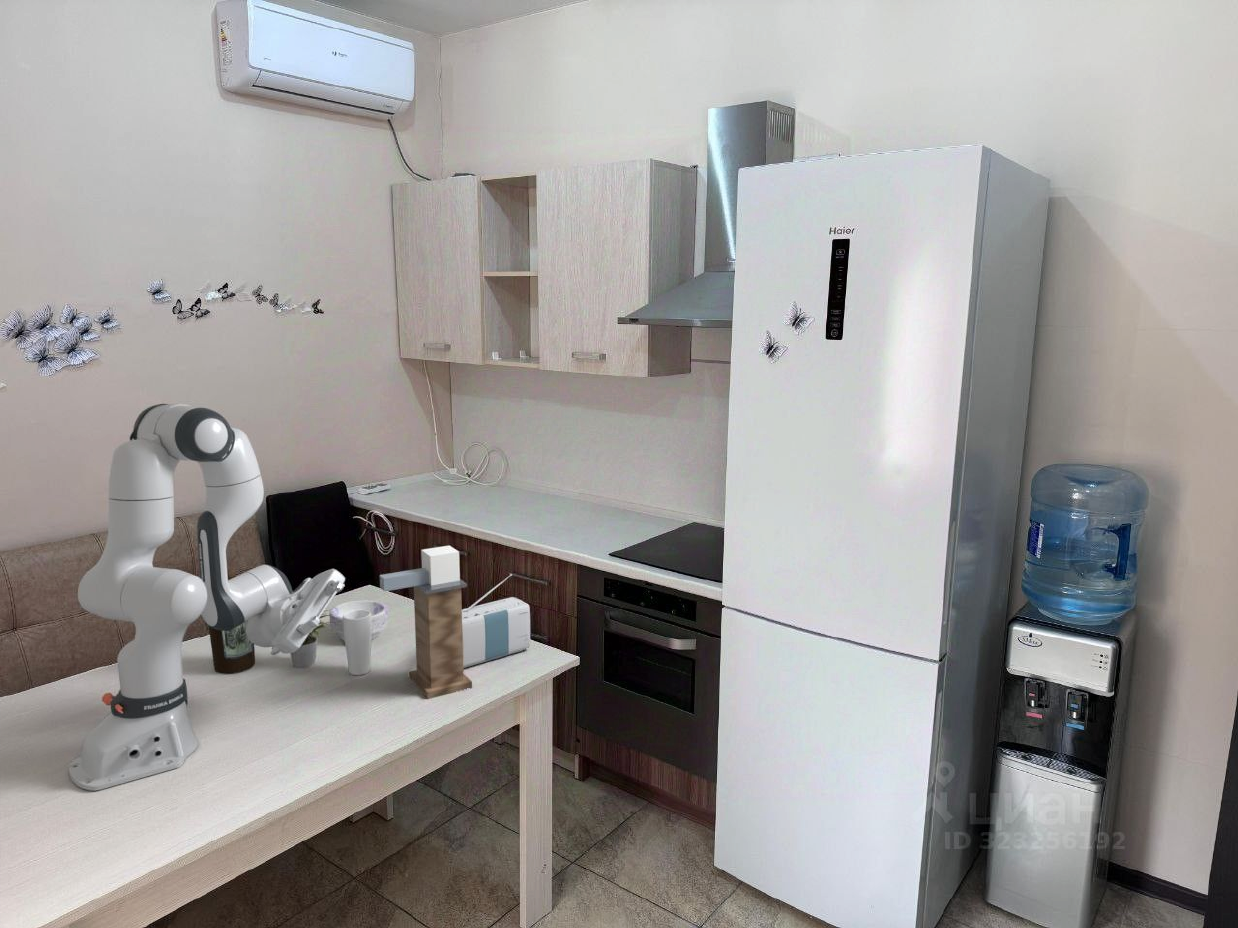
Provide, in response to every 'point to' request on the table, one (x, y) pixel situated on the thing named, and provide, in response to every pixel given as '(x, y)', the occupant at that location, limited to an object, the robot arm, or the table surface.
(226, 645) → the olive oil
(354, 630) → the drinking glass
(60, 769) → the table surface
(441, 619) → the stand
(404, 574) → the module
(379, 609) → the paper bowls
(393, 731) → the table surface
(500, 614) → the stereo radio cassette player
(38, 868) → the table surface
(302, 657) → the house plant
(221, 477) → the robot arm
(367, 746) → the table surface
